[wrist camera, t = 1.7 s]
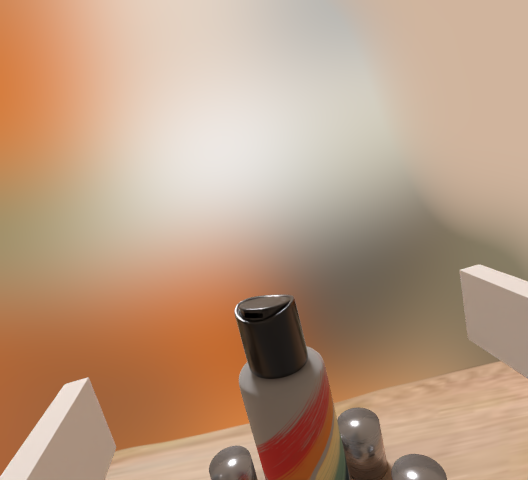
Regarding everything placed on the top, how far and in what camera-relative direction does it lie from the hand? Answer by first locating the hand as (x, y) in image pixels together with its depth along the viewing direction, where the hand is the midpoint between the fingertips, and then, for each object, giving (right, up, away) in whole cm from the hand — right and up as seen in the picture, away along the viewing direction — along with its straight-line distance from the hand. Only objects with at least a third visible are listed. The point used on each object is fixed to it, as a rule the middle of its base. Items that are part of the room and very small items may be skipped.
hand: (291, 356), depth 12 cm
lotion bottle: (+4, -19, +14) cm, 24 cm away
